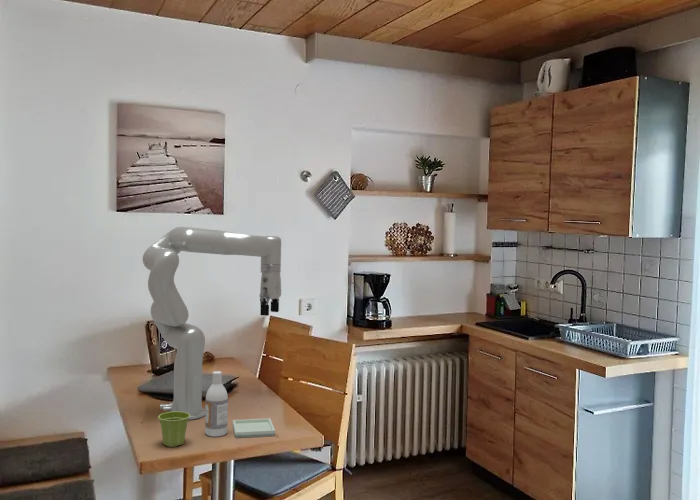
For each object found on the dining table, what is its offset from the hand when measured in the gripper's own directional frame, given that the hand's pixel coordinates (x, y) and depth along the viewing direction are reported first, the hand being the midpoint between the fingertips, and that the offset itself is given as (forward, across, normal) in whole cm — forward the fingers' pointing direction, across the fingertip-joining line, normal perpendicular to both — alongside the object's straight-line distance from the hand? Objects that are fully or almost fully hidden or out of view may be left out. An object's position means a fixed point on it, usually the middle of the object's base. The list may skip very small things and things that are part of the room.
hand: (269, 313), depth 245 cm
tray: (+33, -34, -9) cm, 49 cm away
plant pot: (+33, -54, +8) cm, 64 cm away
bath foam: (+33, -41, +1) cm, 53 cm away
